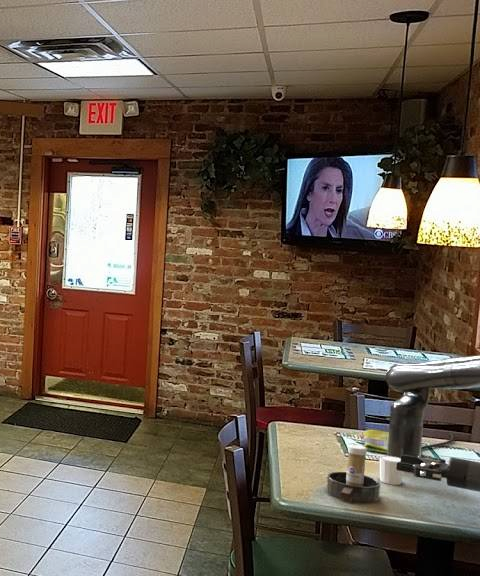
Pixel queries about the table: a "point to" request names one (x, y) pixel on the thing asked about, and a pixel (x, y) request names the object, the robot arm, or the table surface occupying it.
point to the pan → (360, 494)
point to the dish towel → (376, 440)
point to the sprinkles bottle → (356, 465)
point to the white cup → (390, 470)
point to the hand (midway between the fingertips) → (398, 462)
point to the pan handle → (347, 494)
